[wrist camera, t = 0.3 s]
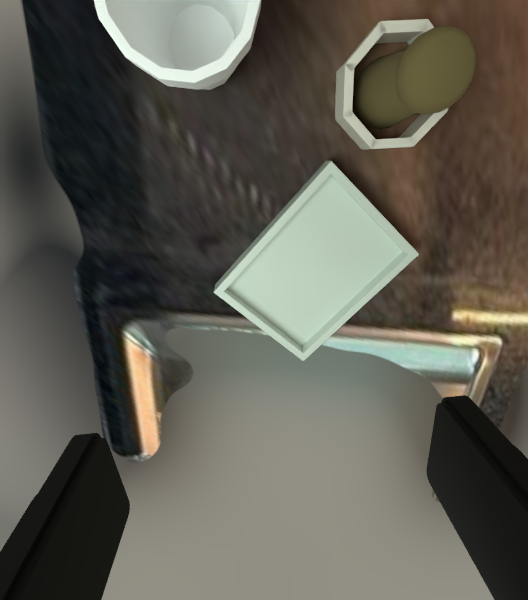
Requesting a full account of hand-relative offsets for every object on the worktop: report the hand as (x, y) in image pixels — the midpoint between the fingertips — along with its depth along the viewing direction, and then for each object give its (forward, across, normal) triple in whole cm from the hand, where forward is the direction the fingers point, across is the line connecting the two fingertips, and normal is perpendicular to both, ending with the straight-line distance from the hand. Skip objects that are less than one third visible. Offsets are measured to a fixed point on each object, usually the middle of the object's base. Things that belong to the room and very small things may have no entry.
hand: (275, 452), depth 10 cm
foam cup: (+30, +3, -17) cm, 35 cm away
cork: (+30, -14, -12) cm, 35 cm away
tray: (+30, -6, +5) cm, 31 cm away
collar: (+30, -14, -12) cm, 35 cm away
